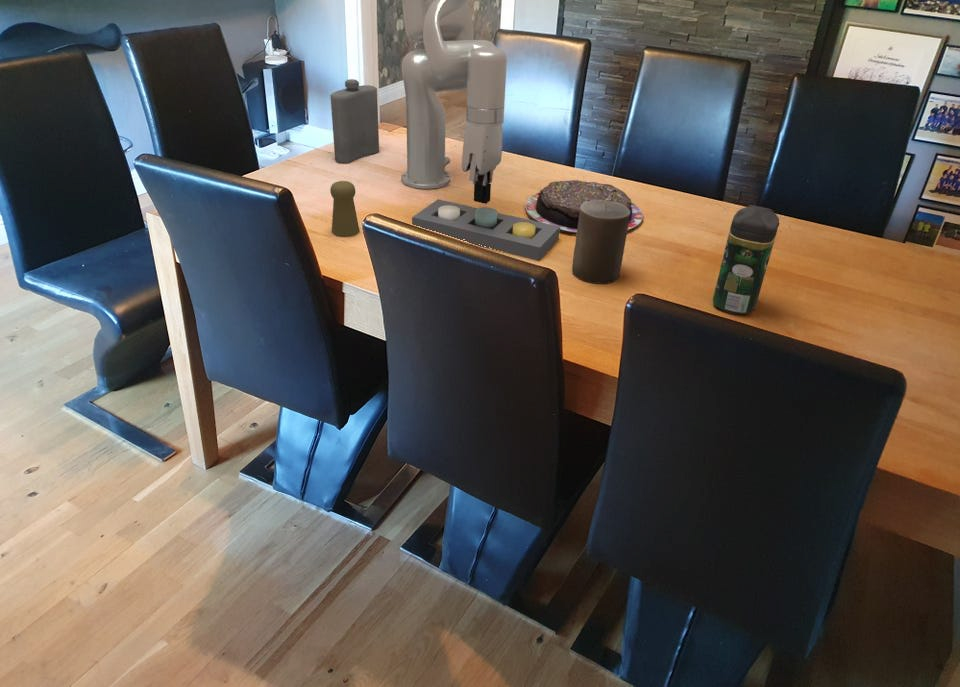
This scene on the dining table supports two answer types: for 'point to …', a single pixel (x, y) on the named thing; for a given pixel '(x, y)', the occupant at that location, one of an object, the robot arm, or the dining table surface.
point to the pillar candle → (600, 241)
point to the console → (489, 231)
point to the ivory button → (449, 212)
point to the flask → (355, 122)
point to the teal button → (486, 217)
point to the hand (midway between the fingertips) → (481, 201)
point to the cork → (344, 210)
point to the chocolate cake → (575, 203)
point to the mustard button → (524, 229)
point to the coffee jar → (745, 259)
